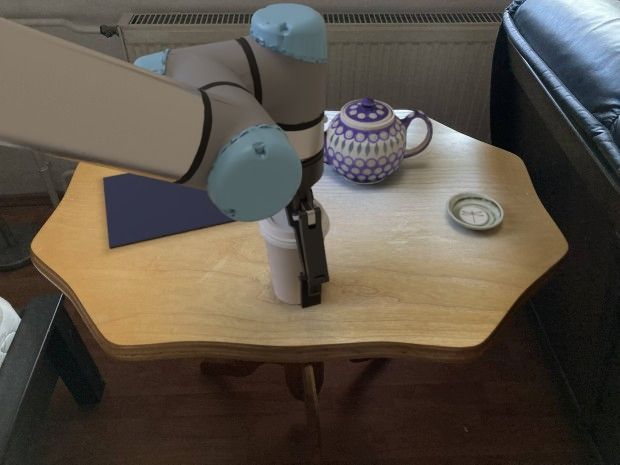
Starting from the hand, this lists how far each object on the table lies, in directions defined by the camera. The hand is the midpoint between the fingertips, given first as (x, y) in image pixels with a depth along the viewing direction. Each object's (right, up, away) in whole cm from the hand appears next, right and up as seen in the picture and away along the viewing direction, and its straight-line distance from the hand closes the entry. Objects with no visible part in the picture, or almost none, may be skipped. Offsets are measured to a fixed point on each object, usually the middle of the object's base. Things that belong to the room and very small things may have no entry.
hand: (295, 270), depth 75 cm
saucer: (+30, +8, +15) cm, 35 cm away
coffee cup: (0, -3, +3) cm, 4 cm away
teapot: (+12, +18, +26) cm, 33 cm away
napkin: (-23, +12, +18) cm, 32 cm away
